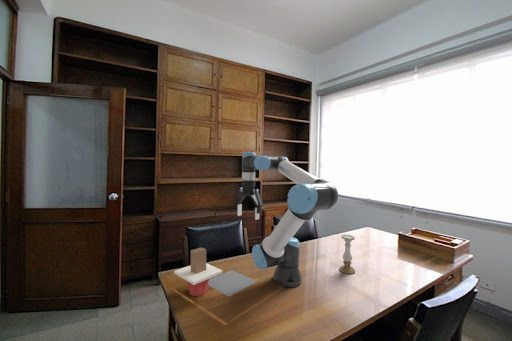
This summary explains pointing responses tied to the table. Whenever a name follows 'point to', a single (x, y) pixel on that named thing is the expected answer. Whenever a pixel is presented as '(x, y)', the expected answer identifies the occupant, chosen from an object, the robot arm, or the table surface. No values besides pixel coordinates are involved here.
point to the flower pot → (198, 288)
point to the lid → (198, 268)
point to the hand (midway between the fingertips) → (248, 217)
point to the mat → (230, 282)
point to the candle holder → (347, 255)
